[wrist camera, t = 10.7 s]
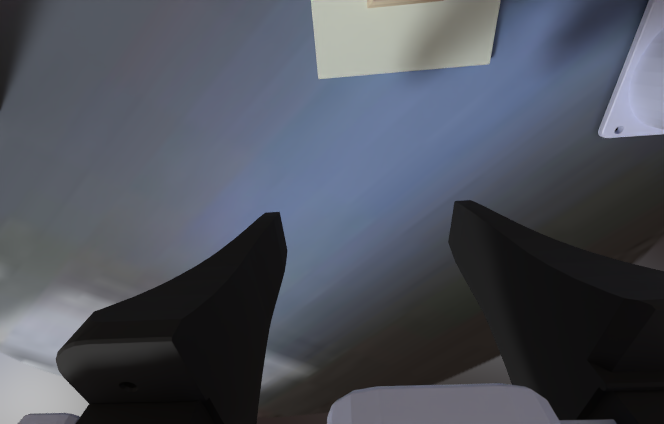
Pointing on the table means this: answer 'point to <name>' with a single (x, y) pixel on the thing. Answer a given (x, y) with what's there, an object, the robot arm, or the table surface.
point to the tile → (401, 36)
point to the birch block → (394, 2)
